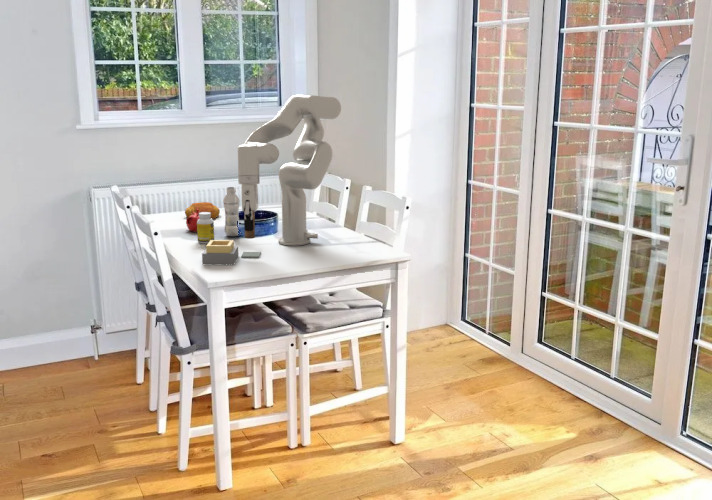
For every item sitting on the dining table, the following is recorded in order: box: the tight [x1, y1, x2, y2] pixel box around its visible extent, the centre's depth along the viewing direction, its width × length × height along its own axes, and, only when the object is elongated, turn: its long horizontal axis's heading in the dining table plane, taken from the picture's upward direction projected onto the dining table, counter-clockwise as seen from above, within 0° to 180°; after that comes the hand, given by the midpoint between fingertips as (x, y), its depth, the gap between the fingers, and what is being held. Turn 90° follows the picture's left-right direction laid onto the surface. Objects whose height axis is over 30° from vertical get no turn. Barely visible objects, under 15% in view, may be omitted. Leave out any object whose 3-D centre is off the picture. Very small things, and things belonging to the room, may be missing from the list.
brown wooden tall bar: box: [243, 207, 256, 240], centre depth 257 cm, size 4×4×15 cm
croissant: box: [184, 201, 220, 219], centre depth 324 cm, size 14×16×8 cm
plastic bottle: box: [222, 186, 240, 237], centre depth 288 cm, size 6×7×20 cm
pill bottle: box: [196, 212, 215, 244], centre depth 279 cm, size 6×6×12 cm
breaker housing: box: [201, 239, 239, 266], centre depth 253 cm, size 11×11×6 cm
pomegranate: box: [185, 209, 200, 233], centre depth 299 cm, size 10×10×9 cm
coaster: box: [240, 251, 262, 259], centre depth 261 cm, size 6×6×1 cm
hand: (249, 228), depth 258 cm, fingers closed on brown wooden tall bar, 3 cm apart
